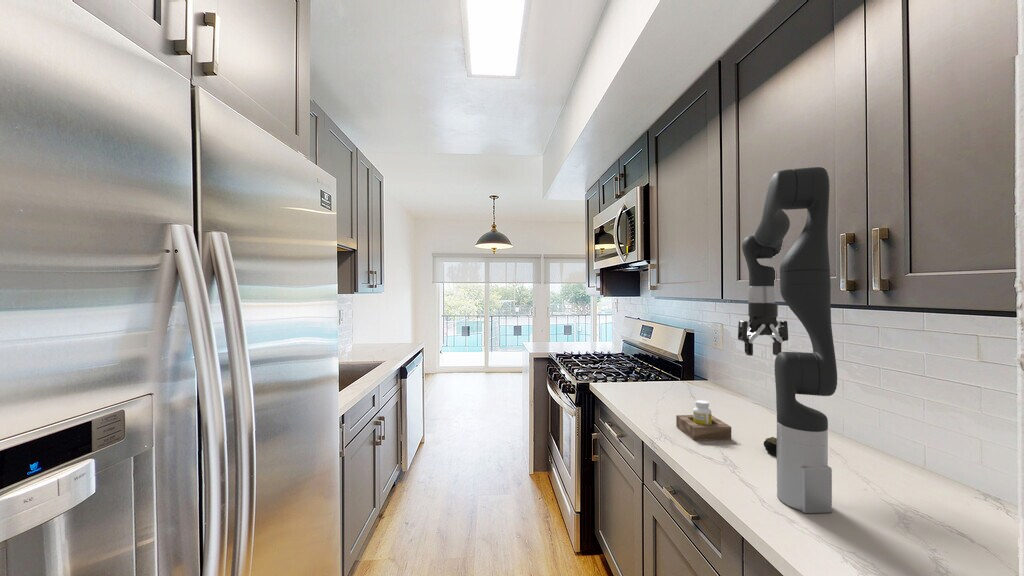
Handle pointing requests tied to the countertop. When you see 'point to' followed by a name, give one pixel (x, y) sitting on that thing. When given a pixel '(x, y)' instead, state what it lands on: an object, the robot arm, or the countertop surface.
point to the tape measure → (771, 445)
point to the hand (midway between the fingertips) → (763, 355)
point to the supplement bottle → (702, 413)
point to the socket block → (703, 428)
